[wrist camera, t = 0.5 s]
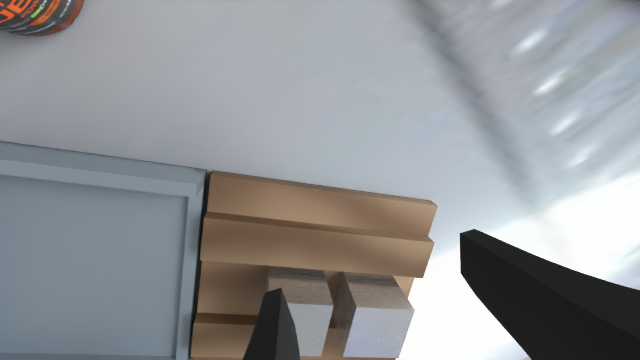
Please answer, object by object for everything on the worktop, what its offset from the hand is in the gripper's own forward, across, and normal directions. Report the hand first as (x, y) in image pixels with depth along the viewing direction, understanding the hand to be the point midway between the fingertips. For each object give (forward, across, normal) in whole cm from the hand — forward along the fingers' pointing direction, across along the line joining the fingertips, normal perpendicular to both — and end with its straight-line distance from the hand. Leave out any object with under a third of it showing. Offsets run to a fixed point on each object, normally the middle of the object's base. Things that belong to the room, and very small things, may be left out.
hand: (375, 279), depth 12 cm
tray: (+10, +17, +2) cm, 20 cm away
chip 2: (+9, 0, +10) cm, 13 cm away
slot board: (+10, +3, +8) cm, 13 cm away
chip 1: (+9, +4, +8) cm, 12 cm away
